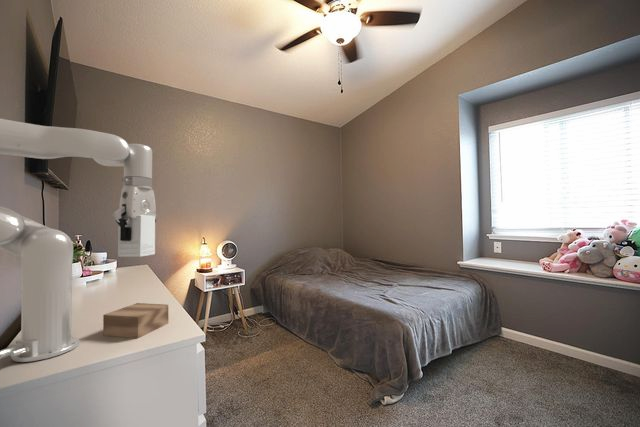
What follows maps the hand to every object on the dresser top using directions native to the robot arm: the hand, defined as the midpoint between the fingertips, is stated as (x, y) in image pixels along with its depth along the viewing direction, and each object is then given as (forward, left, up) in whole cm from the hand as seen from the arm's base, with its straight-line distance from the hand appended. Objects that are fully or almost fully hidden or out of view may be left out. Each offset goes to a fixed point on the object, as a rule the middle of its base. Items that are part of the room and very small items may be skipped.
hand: (137, 239), depth 90 cm
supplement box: (0, 0, -5) cm, 5 cm away
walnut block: (0, -1, -28) cm, 28 cm away
